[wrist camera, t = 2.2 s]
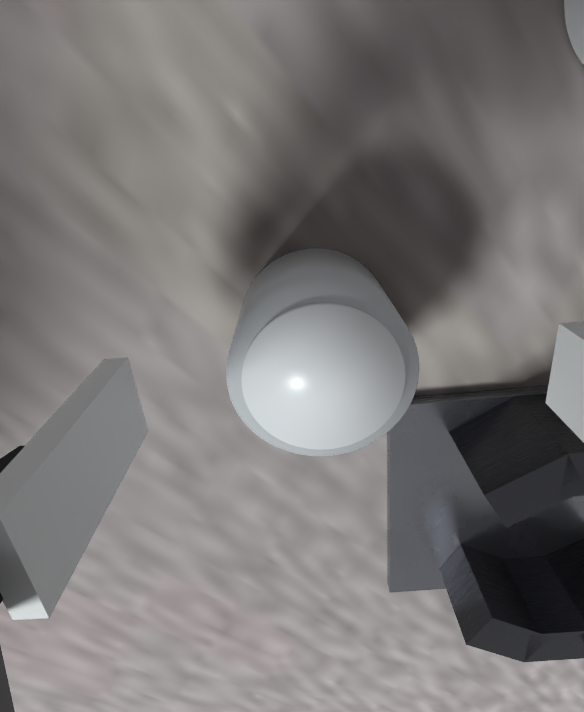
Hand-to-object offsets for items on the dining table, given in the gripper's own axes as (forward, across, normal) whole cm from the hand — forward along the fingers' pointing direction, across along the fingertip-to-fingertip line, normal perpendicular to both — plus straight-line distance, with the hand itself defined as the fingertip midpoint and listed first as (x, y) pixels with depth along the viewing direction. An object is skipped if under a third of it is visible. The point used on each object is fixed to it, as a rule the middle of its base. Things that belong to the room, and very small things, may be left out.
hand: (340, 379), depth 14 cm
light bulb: (+5, -1, 0) cm, 5 cm away
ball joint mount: (+5, +9, -10) cm, 15 cm away
